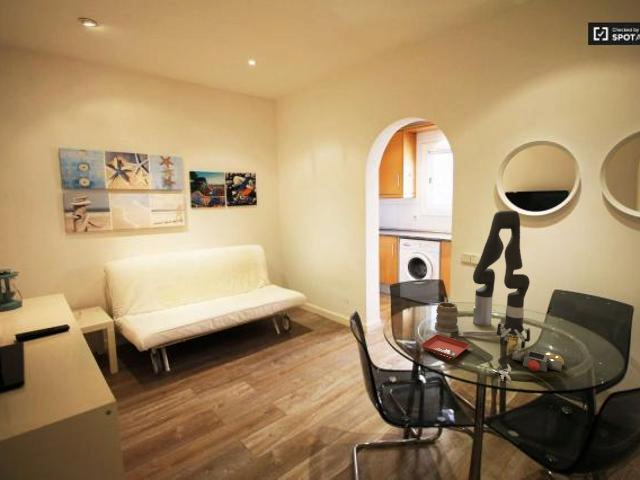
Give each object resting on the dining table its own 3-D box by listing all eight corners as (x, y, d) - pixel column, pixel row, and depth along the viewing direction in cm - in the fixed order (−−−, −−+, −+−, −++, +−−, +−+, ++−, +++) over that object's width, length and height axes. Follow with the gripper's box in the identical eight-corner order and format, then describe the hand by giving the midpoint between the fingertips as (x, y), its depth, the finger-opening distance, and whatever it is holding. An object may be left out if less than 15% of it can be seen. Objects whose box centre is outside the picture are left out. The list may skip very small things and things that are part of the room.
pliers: (509, 362, 160) (519, 379, 145) (508, 365, 160) (519, 383, 146) (485, 360, 162) (493, 377, 148) (485, 363, 162) (493, 381, 148)
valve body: (508, 366, 159) (509, 355, 158) (514, 355, 169) (514, 345, 168) (559, 379, 147) (560, 368, 146) (561, 366, 157) (562, 356, 156)
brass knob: (505, 352, 172) (506, 336, 171) (507, 348, 176) (508, 333, 175) (516, 354, 169) (517, 339, 168) (518, 351, 173) (519, 335, 172)
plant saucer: (470, 349, 176) (470, 343, 176) (455, 362, 163) (455, 356, 163) (436, 339, 189) (436, 333, 188) (419, 350, 176) (420, 344, 176)
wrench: (458, 339, 194) (520, 340, 183) (458, 341, 192) (521, 342, 181) (457, 325, 193) (519, 326, 182) (457, 327, 191) (519, 327, 181)
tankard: (458, 333, 195) (459, 307, 193) (434, 331, 199) (435, 305, 197) (457, 320, 214) (458, 296, 211) (435, 318, 218) (435, 295, 215)
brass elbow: (543, 358, 165) (546, 364, 160) (543, 351, 164) (547, 357, 159) (560, 360, 163) (564, 366, 157) (560, 353, 162) (564, 359, 157)
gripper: (496, 313, 171) (494, 345, 174) (530, 320, 162) (527, 353, 165) (500, 309, 177) (498, 339, 179) (532, 315, 168) (530, 347, 171)
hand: (512, 346), depth 172 cm, fingers open, 8 cm apart
